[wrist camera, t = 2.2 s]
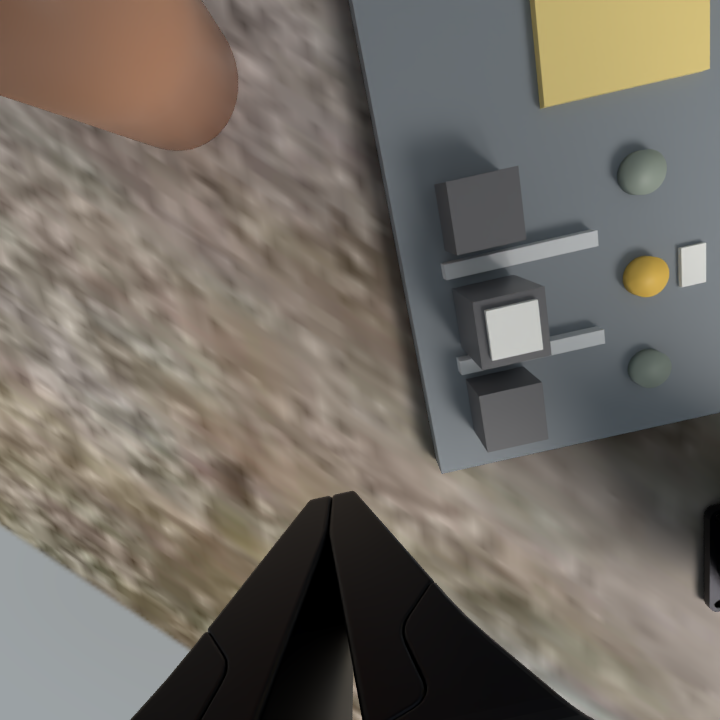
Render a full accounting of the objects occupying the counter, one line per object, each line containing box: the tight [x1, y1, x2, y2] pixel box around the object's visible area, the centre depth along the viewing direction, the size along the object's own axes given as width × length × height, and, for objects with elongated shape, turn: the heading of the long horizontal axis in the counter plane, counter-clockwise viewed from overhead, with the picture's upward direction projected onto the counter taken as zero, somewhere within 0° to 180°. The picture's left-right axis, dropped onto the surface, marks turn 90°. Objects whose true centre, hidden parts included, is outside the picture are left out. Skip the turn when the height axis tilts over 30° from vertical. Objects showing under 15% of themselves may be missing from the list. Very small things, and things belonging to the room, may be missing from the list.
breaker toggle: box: [452, 275, 552, 370], centre depth 18 cm, size 2×2×3 cm
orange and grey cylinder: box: [0, 0, 238, 151], centre depth 12 cm, size 5×5×14 cm
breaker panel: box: [348, 0, 720, 474], centre depth 19 cm, size 20×14×3 cm
